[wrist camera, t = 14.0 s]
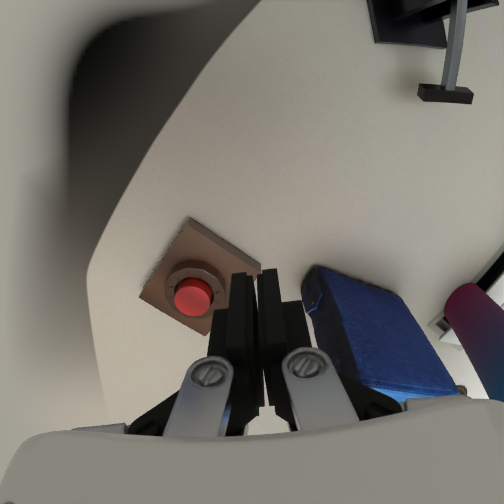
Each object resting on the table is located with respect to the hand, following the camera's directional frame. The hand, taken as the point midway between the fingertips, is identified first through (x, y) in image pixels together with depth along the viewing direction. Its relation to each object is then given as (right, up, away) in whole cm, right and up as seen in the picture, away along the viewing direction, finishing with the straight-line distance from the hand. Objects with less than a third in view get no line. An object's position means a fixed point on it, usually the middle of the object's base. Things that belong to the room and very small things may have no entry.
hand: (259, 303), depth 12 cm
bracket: (+17, +29, +13) cm, 36 cm away
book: (+13, -3, +29) cm, 32 cm away
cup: (+32, -6, +30) cm, 45 cm away
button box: (-7, -1, +28) cm, 28 cm away
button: (-7, -3, +24) cm, 25 cm away
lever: (+17, +22, +7) cm, 28 cm away
